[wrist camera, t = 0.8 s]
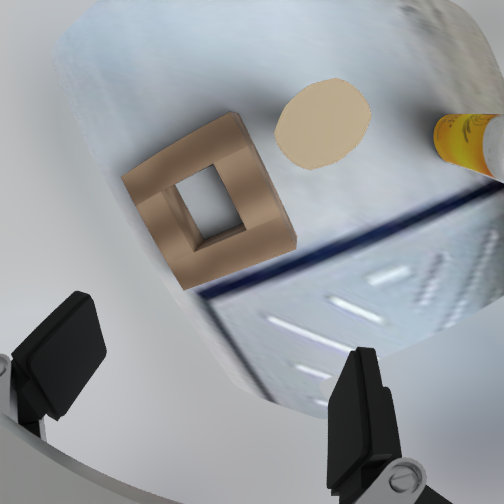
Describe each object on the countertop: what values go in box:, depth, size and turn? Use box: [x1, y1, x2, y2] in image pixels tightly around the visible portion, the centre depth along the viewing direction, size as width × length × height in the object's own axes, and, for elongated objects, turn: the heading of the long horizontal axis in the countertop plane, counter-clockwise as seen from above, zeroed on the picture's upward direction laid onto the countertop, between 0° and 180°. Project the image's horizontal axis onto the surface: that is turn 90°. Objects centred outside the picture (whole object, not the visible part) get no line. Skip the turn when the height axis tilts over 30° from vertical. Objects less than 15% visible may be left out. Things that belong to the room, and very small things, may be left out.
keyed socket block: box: [121, 112, 297, 290], centre depth 34 cm, size 16×15×4 cm
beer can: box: [434, 114, 504, 183], centre depth 21 cm, size 6×6×15 cm
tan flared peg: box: [274, 78, 371, 170], centre depth 23 cm, size 5×6×15 cm
